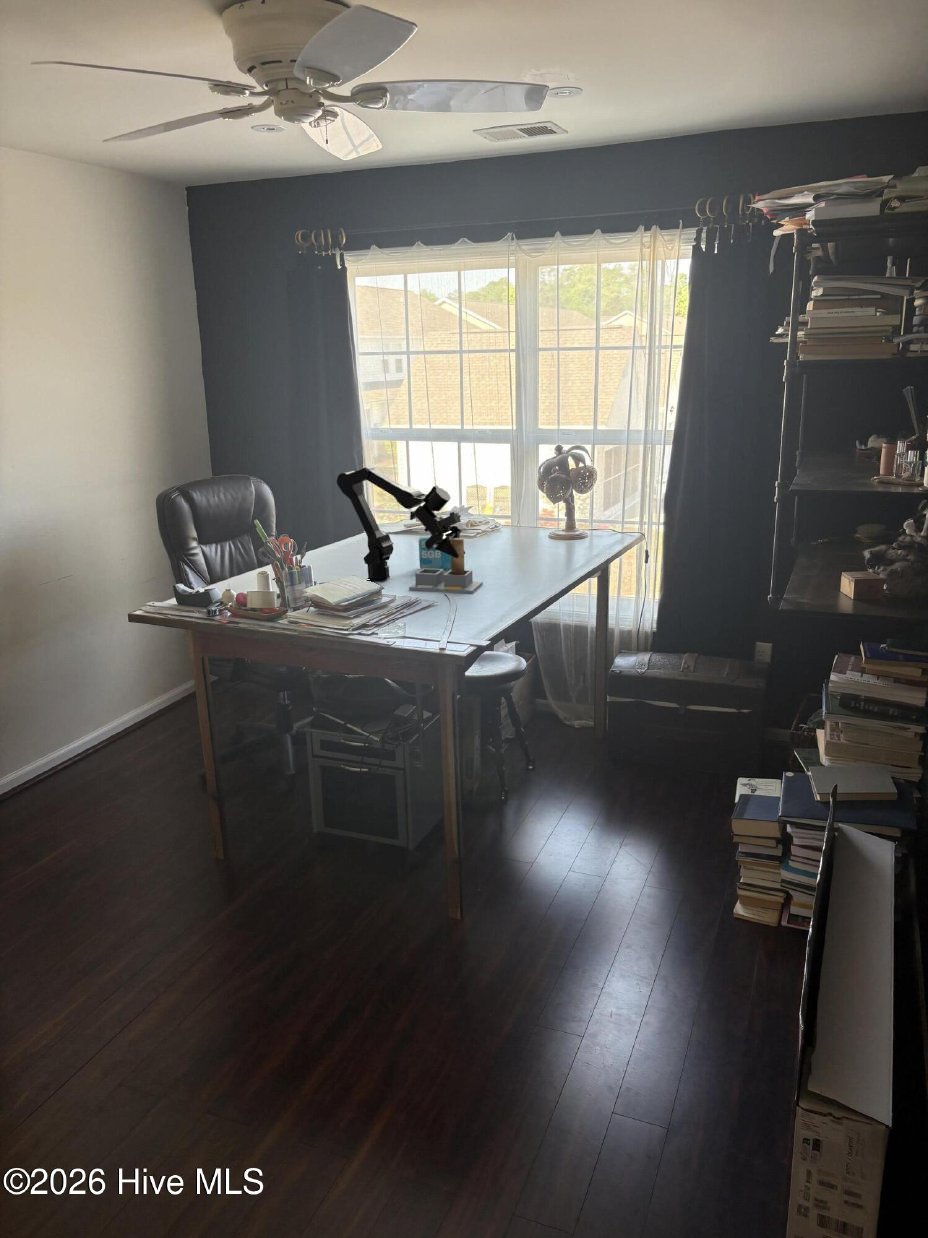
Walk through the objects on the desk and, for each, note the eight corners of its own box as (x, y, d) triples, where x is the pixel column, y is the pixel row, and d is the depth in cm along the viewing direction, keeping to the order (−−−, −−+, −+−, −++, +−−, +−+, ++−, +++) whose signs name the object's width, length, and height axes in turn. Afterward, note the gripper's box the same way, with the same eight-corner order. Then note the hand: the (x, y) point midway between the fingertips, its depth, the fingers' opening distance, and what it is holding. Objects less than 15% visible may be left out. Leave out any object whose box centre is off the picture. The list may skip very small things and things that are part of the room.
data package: (420, 571, 323) (418, 538, 319) (419, 568, 327) (418, 535, 324) (453, 569, 324) (452, 536, 320) (452, 566, 328) (451, 534, 325)
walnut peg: (448, 575, 297) (447, 539, 294) (456, 572, 301) (455, 537, 297) (459, 576, 295) (458, 541, 291) (467, 574, 298) (466, 538, 295)
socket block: (409, 590, 297) (408, 575, 295) (421, 581, 308) (420, 567, 306) (472, 593, 290) (472, 578, 289) (482, 584, 301) (482, 570, 300)
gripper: (431, 509, 285) (463, 545, 283) (458, 500, 301) (488, 534, 299) (411, 531, 290) (442, 567, 289) (438, 521, 306) (467, 555, 305)
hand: (461, 555), depth 295 cm, fingers closed on walnut peg, 4 cm apart
